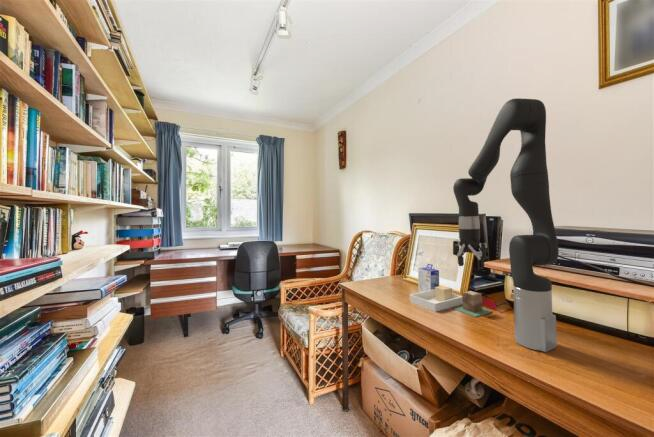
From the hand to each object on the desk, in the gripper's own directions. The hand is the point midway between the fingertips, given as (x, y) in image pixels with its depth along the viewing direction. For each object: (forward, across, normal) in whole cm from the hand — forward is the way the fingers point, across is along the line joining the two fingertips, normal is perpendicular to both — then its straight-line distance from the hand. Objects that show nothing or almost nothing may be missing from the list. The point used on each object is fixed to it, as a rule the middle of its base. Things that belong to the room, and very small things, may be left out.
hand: (470, 267), depth 107 cm
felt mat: (+18, 0, 0) cm, 18 cm away
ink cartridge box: (+18, +27, -4) cm, 32 cm away
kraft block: (+18, +14, 0) cm, 23 cm away
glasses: (+19, +2, -15) cm, 24 cm away
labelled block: (+17, 0, 0) cm, 17 cm away
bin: (+18, +14, +5) cm, 23 cm away
